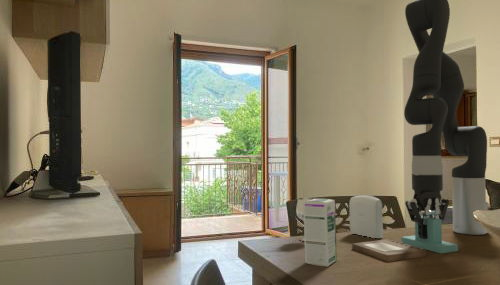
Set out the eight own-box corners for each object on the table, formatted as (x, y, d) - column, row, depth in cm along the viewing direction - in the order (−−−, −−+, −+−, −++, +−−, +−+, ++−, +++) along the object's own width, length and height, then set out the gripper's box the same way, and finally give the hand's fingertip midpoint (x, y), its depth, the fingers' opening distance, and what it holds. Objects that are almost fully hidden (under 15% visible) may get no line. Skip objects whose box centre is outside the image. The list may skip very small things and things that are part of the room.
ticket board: (388, 245, 107) (388, 238, 107) (426, 256, 95) (426, 249, 95) (352, 249, 103) (352, 242, 103) (387, 262, 91) (387, 254, 91)
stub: (417, 240, 112) (417, 213, 112) (457, 250, 100) (457, 220, 100) (401, 242, 109) (401, 215, 109) (440, 253, 97) (440, 222, 97)
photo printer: (347, 234, 121) (347, 194, 122) (356, 232, 124) (355, 193, 124) (377, 240, 113) (376, 197, 114) (385, 238, 116) (384, 196, 116)
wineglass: (294, 241, 112) (293, 199, 113) (299, 237, 118) (299, 197, 118) (314, 243, 110) (313, 200, 111) (318, 239, 116) (318, 198, 116)
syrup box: (328, 267, 87) (327, 201, 88) (303, 263, 90) (303, 200, 91) (337, 261, 92) (336, 199, 92) (313, 257, 95) (312, 197, 96)
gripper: (434, 171, 111) (435, 232, 111) (396, 172, 106) (397, 237, 105) (457, 172, 104) (459, 238, 104) (418, 174, 99) (419, 243, 98)
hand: (428, 237), depth 104 cm, fingers closed on stub, 3 cm apart
